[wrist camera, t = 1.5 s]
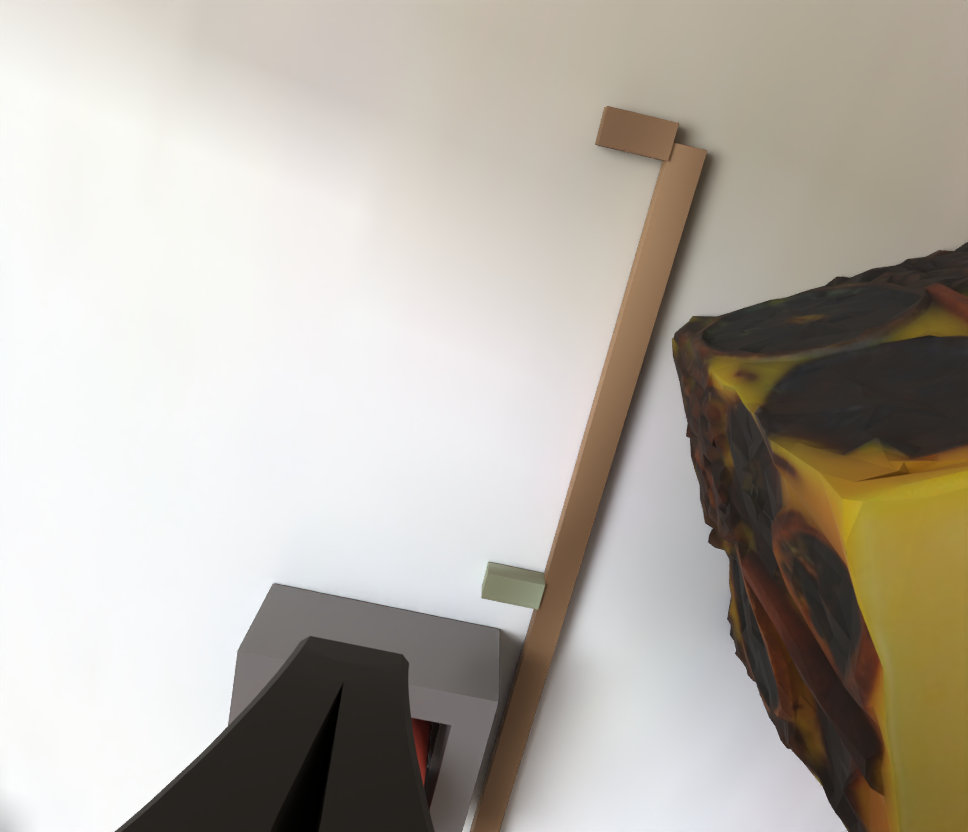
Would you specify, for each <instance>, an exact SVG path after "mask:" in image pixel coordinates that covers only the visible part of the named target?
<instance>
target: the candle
mask: <svg viewBox="0 0 968 832" xmlns="http://www.w3.org/2000/svg"><path fill="white" fill-rule="evenodd" d="M672 348H673V358H674V362H675V366H676V370H677V373H678V377H679V381H680V386H681V392H682V397H683V403H684V409H685V413H686V417H687V422H688V425H687V433H686V436H687V437H689V438H690V446H691V458H692V461H693V465H694V469H695V472H696V475H697V478H698V481H699V484H700V500H701V504H702V508H703V513H704V519H705V523H706V524H707V525H709V526H710V527H712V528H713V529H712V531H711V533H710V535H709V540H708V543H710V544H711V545H712V546H714V547H715V548H718V549H723V550H725V552H726V554H727V555H728V557H729V559H730V570H729V585H730V591H731V600H730V606H729V612H728V618H727V619H728V621H729V623H730V624H731V630H730V636H731V637H732V638H733V640H734V643H735V647H736V652H735V654H736V655H737V656H738V658H739V659H740V660H741V661H742V662H743V664H744V665H745V667H746V669H747V674H748V676H749V677H750V678H751V679H752V680H753V681H755V682H756V684H757V687H758V690H759V692H760V696H761V698H762V700H763V703H764V706H765V708H766V710H767V713H768V715H769V718H770V719H771V721H772V722H773V724H774V725H775V726H776V729H777V732H778V734H779V737H780V740H781V741H782V742H783V744H784V745H785V746H786V748H787V749H791V750H792V751H793V752H794V753H795V754H796V755H797V756H798V757H799V759H800V760H801V761H802V762H803V763H804V764H805V765H806V767H807V768H808V769H809V770H810V771H811V773H812V774H813V775H814V776H815V778H816V779H817V780H818V781H819V783H820V784H821V785H822V786H823V789H824V791H825V793H826V796H827V798H828V801H829V803H830V804H831V806H832V808H833V810H834V811H835V813H836V814H837V815H838V817H839V818H840V819H841V821H842V822H843V824H844V825H845V827H846V829H847V830H848V832H968V242H967V243H965V244H964V245H962V246H961V247H959V248H958V249H957V250H955V251H942V250H939V251H937V252H935V253H933V254H931V255H929V256H927V257H922V258H914V259H907V260H906V261H904V262H903V263H901V264H899V265H896V266H889V267H882V268H875V269H871V270H868V271H866V272H863V273H861V274H858V275H856V276H854V277H851V278H846V277H836V278H835V279H833V280H832V281H831V282H829V283H828V284H827V285H825V286H823V287H819V288H815V289H811V290H808V291H805V292H802V293H799V294H796V295H793V296H790V297H787V298H782V299H774V300H769V301H766V302H763V303H759V304H756V305H753V306H750V307H746V308H743V309H740V310H737V311H734V312H731V313H727V314H724V315H721V316H718V317H704V316H692V318H691V319H690V321H689V322H688V323H686V324H685V325H684V326H683V327H682V328H680V329H679V330H678V331H677V332H676V333H675V335H674V338H673V339H672Z"/></svg>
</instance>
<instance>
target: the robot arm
mask: <svg viewBox="0 0 968 832" xmlns="http://www.w3.org/2000/svg"><path fill="white" fill-rule="evenodd" d="M408 671H409V662H408V661H407V660H406V658H405V657H404V655H403V654H399V653H394V652H389V651H384V650H379V649H374V648H369V647H364V646H359V645H354V644H349V643H344V642H339V641H334V640H329V639H324V638H319V637H314V636H309V637H307V638H305V639H304V640H302V641H300V642H299V644H298V645H297V647H296V648H295V650H294V651H293V652H292V654H291V655H290V656H289V658H288V659H287V660H286V662H285V663H284V664H283V665H282V667H281V668H280V669H279V670H278V672H277V673H276V674H275V675H274V676H273V678H272V679H271V680H270V681H269V682H268V683H267V685H266V686H265V687H264V688H263V689H262V690H261V691H260V693H259V694H258V695H257V696H256V697H255V698H254V699H253V700H252V702H251V703H250V704H249V705H248V706H247V707H246V708H245V709H244V710H243V711H242V712H241V713H240V714H239V715H238V716H237V717H236V718H235V720H234V721H233V722H232V723H231V724H230V725H229V726H228V727H227V728H226V729H225V730H224V731H223V732H222V733H221V734H220V735H219V736H218V737H217V738H216V739H215V740H214V741H213V742H212V743H211V744H210V745H209V746H208V747H207V748H206V749H205V750H204V751H203V752H202V753H201V754H200V755H199V756H198V757H197V758H196V759H195V760H194V761H193V762H192V763H191V764H190V765H189V766H188V767H186V768H185V769H184V770H183V771H182V772H181V773H180V774H179V775H178V776H177V777H176V778H175V779H174V780H172V781H171V782H170V783H169V784H168V785H167V786H166V787H165V788H164V789H163V790H162V791H161V792H160V793H158V794H157V795H156V796H155V797H154V798H153V799H152V800H151V801H150V802H149V803H148V804H146V805H145V806H144V807H143V808H142V809H141V810H140V811H138V812H137V813H136V814H135V815H134V816H133V817H131V818H130V819H129V820H128V821H127V822H126V823H125V824H123V825H122V826H121V827H120V828H119V829H117V830H116V831H115V832H435V831H434V827H433V824H432V820H431V816H430V812H429V808H428V804H427V800H426V795H425V790H424V785H423V781H422V776H421V771H420V767H419V762H418V757H417V752H416V746H415V740H414V734H413V727H412V719H411V712H410V702H409V687H408Z"/></svg>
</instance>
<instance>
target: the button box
mask: <svg viewBox="0 0 968 832" xmlns="http://www.w3.org/2000/svg"><path fill="white" fill-rule="evenodd" d="M309 636H314V637H319V638H324V639H329V640H334V641H339V642H344V643H349V644H354V645H359V646H364V647H369V648H374V649H379V650H384V651H389V652H394V653H399V654H403V655H404V657H405V658H406V660H407V661H408V662H409V671H408V687H409V702H410V712H411V717H412V718H417V719H422V720H427V721H432V722H437V723H440V726H439V730H438V734H437V738H436V742H435V746H434V750H433V754H432V758H431V762H430V766H429V769H426V774H425V782H424V790H425V795H426V800H427V804H428V808H429V812H430V816H431V820H432V824H433V827H434V831H435V832H462V830H463V826H464V823H465V819H466V816H467V812H468V809H469V805H470V802H471V798H472V794H473V791H474V787H475V784H476V780H477V777H478V773H479V770H480V766H481V763H482V759H483V756H484V752H485V748H486V745H487V741H488V738H489V734H490V731H491V727H492V724H493V720H494V717H495V713H496V710H497V706H498V702H499V629H496V628H491V627H486V626H481V625H476V624H471V623H466V622H461V621H456V620H451V619H446V618H441V617H436V616H431V615H426V614H421V613H416V612H412V611H407V610H402V609H397V608H392V607H387V606H382V605H377V604H372V603H367V602H362V601H357V600H352V599H347V598H342V597H337V596H332V595H328V594H323V593H318V592H313V591H308V590H303V589H298V588H293V587H288V586H283V585H278V584H272V586H271V588H270V590H269V592H268V594H267V596H266V598H265V600H264V602H263V603H262V605H261V607H260V609H259V611H258V613H257V615H256V617H255V619H254V621H253V623H252V624H251V626H250V628H249V630H248V632H247V634H246V636H245V638H244V640H243V642H242V643H241V645H240V647H239V649H238V653H237V660H236V668H235V676H234V684H233V691H232V699H231V707H230V715H229V722H228V726H229V725H230V724H231V723H232V722H233V721H234V720H235V718H236V717H237V716H238V715H239V714H240V713H241V712H242V711H243V710H244V709H245V708H246V707H247V706H248V705H249V704H250V703H251V702H252V700H253V699H254V698H255V697H256V696H257V695H258V694H259V693H260V691H261V690H262V689H263V688H264V687H265V686H266V685H267V683H268V682H269V681H270V680H271V679H272V678H273V676H274V675H275V674H276V673H277V672H278V670H279V669H280V668H281V667H282V665H283V664H284V663H285V662H286V660H287V659H288V658H289V656H290V655H291V654H292V652H293V651H294V650H295V648H296V647H297V645H298V644H299V642H300V641H302V640H304V639H305V638H307V637H309Z"/></svg>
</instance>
